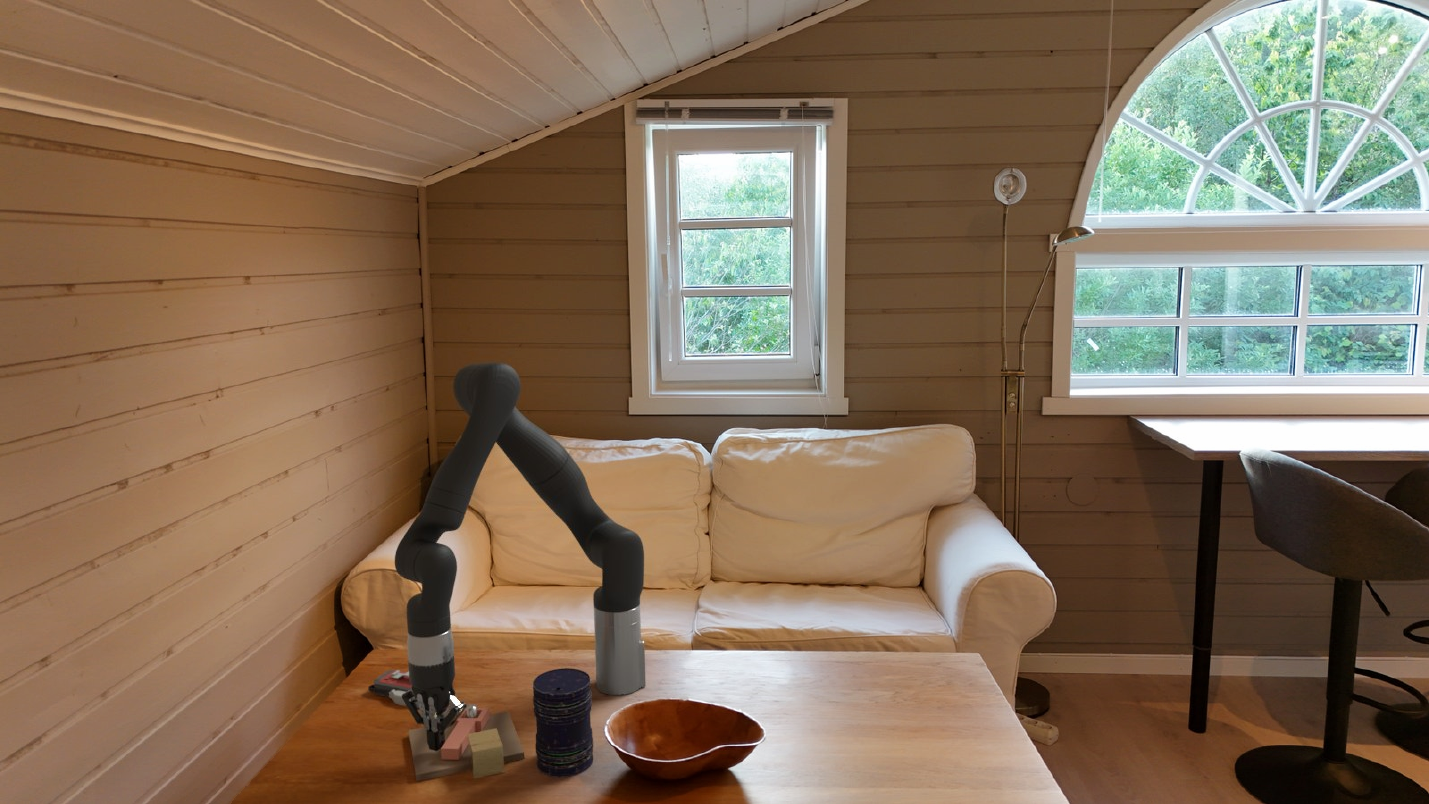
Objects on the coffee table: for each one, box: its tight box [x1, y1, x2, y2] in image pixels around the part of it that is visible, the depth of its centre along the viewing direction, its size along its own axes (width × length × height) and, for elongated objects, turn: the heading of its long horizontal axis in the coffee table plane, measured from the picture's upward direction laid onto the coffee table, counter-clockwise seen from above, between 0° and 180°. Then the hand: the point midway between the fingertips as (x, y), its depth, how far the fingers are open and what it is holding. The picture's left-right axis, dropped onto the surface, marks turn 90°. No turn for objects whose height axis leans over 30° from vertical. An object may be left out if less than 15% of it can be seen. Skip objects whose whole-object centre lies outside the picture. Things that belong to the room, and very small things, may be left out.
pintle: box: [466, 703, 477, 718], centre depth 174 cm, size 2×2×5 cm
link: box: [441, 706, 490, 760], centre depth 169 cm, size 14×5×2 cm, turn 176°
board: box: [408, 710, 525, 782], centre depth 169 cm, size 18×16×1 cm
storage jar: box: [532, 667, 594, 779], centre depth 163 cm, size 10×10×15 cm
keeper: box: [467, 728, 505, 779], centre depth 163 cm, size 5×6×5 cm
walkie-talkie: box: [367, 669, 412, 707], centre depth 188 cm, size 9×4×20 cm
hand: (436, 748), depth 165 cm, fingers closed
